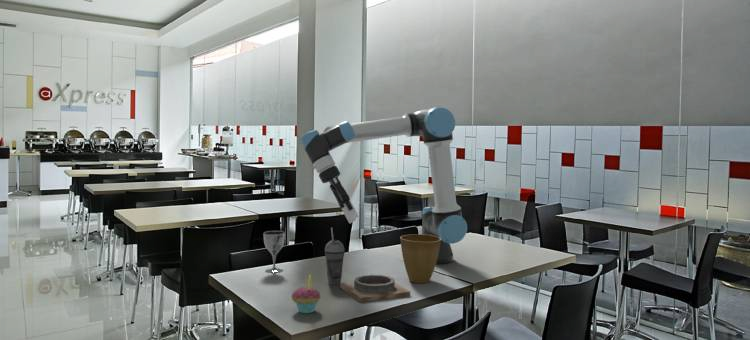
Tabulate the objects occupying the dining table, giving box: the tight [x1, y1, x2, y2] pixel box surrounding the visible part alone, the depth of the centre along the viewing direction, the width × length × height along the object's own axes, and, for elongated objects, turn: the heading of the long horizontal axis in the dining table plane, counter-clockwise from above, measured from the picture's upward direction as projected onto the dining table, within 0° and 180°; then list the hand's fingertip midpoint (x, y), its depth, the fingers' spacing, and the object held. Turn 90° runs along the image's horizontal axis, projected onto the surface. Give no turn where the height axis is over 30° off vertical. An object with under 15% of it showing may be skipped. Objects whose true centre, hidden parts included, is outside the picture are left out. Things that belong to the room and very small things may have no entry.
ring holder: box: [339, 274, 411, 303], centre depth 177 cm, size 18×18×4 cm
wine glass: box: [263, 230, 286, 274], centre depth 203 cm, size 8×8×15 cm
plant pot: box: [399, 233, 441, 284], centre depth 190 cm, size 15×15×16 cm
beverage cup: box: [324, 227, 346, 286], centre depth 186 cm, size 7×7×20 cm
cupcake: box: [291, 272, 321, 314], centre depth 156 cm, size 9×8×12 cm
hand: (354, 220), depth 191 cm, fingers open, 13 cm apart
